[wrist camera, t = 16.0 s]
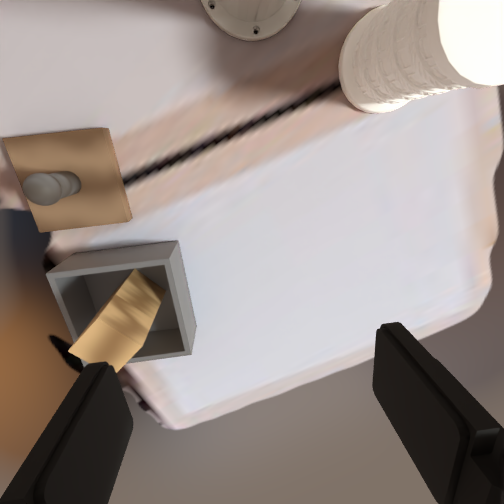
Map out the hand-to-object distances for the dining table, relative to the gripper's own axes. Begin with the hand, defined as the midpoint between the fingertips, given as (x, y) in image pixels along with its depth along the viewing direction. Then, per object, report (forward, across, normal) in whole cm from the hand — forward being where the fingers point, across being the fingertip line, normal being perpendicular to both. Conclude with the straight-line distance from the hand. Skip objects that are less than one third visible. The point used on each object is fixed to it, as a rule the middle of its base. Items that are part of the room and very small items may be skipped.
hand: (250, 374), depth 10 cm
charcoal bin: (+33, +17, +13) cm, 40 cm away
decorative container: (+34, -21, -15) cm, 42 cm away
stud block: (+33, +21, -5) cm, 40 cm away
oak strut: (+32, +16, +12) cm, 38 cm away
